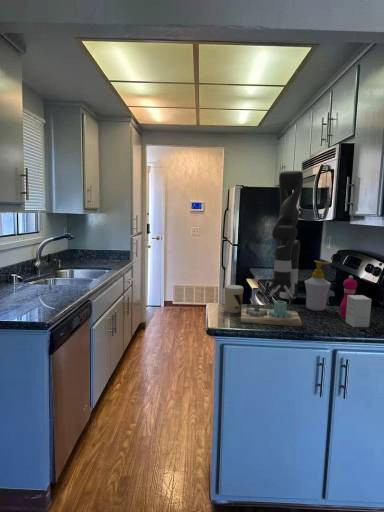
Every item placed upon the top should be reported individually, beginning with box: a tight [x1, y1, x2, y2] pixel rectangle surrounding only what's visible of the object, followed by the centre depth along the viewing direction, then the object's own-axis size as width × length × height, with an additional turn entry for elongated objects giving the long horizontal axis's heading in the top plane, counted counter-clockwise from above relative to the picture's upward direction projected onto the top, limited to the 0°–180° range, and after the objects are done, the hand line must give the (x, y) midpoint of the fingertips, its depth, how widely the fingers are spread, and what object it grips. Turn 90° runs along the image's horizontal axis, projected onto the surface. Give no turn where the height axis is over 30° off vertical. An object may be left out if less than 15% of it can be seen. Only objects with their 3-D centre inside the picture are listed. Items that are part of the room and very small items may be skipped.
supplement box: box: [345, 294, 372, 328], centre depth 154 cm, size 7×7×13 cm
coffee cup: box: [223, 284, 244, 314], centre depth 171 cm, size 9×9×12 cm
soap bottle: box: [304, 260, 332, 312], centre depth 176 cm, size 13×13×25 cm
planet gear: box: [269, 300, 291, 318], centre depth 159 cm, size 10×10×6 cm
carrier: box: [240, 302, 303, 327], centre depth 160 cm, size 16×26×6 cm, turn 81°
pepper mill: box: [339, 275, 358, 319], centre depth 164 cm, size 7×7×20 cm
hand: (280, 304), depth 159 cm, fingers open, 8 cm apart
